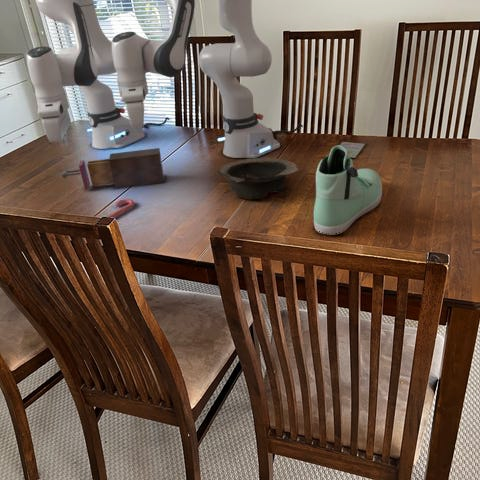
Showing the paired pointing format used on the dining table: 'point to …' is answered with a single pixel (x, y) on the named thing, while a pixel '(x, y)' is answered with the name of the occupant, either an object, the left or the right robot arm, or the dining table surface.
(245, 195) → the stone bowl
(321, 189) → the sneaker
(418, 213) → the dining table surface
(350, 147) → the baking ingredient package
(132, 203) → the candy cane
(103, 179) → the drawer
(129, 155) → the cabinet
